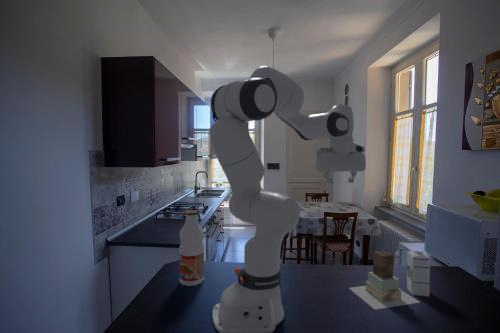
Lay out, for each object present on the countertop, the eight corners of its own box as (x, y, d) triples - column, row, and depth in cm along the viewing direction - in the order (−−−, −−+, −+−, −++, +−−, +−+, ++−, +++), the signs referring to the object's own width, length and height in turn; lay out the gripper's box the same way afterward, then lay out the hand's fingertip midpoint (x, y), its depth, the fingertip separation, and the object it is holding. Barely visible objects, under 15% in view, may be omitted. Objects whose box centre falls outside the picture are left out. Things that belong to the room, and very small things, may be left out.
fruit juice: (207, 283, 101) (207, 212, 100) (183, 290, 97) (182, 215, 95) (199, 274, 110) (199, 207, 108) (176, 279, 105) (176, 210, 104)
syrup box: (430, 297, 92) (431, 257, 92) (411, 295, 94) (412, 255, 93) (422, 289, 98) (424, 251, 97) (405, 287, 99) (406, 250, 98)
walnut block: (382, 279, 90) (382, 256, 90) (373, 273, 95) (373, 251, 94) (393, 277, 91) (393, 255, 91) (383, 272, 96) (384, 250, 95)
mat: (374, 310, 84) (374, 309, 84) (348, 288, 98) (348, 287, 98) (420, 303, 89) (420, 302, 89) (389, 283, 102) (389, 282, 102)
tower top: (381, 291, 89) (382, 281, 89) (367, 281, 96) (368, 272, 96) (398, 288, 91) (399, 279, 90) (384, 279, 97) (384, 270, 97)
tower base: (381, 302, 89) (381, 292, 88) (365, 290, 96) (365, 281, 96) (401, 299, 90) (401, 289, 90) (384, 287, 98) (384, 278, 98)
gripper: (320, 147, 97) (320, 184, 97) (368, 147, 102) (367, 183, 102) (312, 147, 103) (312, 182, 104) (358, 148, 108) (357, 181, 108)
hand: (340, 183), depth 103 cm, fingers open, 8 cm apart
